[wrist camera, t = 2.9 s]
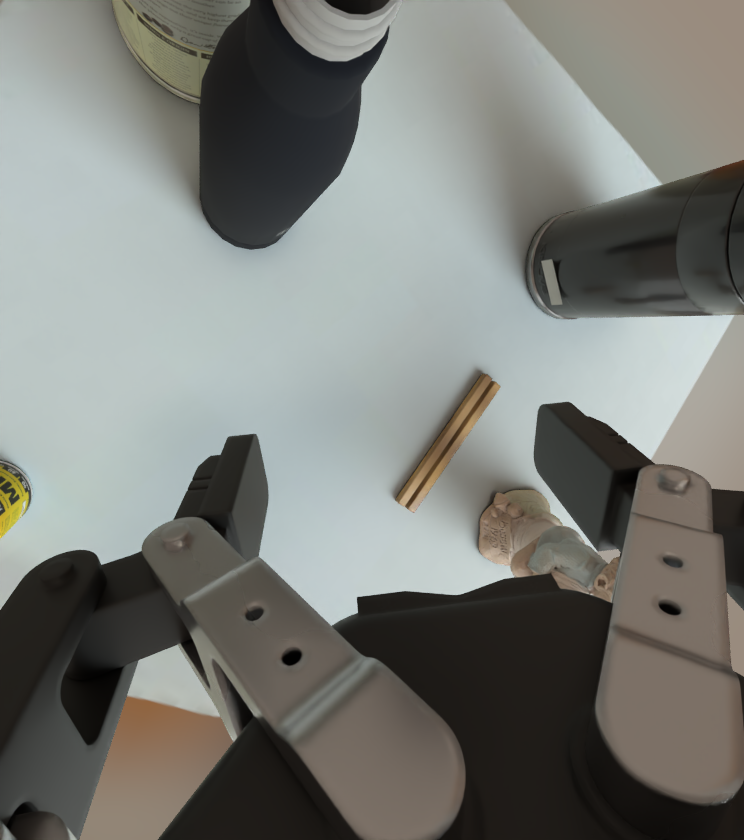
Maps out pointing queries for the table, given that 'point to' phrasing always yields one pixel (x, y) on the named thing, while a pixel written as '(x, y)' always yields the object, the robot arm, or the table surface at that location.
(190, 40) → the coffee can
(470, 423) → the chopsticks
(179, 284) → the table surface
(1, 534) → the supplement bottle
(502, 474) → the table surface
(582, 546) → the figurine
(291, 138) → the dark blue water bottle
